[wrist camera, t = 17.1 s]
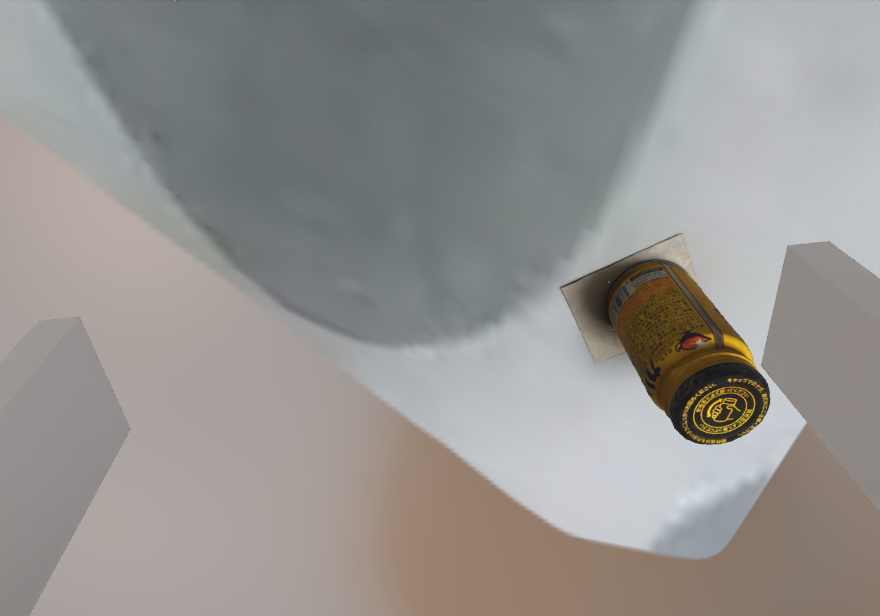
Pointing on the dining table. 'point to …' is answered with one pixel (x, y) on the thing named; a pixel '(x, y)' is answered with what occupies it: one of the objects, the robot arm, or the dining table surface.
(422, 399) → the dining table surface
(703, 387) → the condiment
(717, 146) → the dining table surface
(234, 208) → the dining table surface
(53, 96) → the dining table surface
